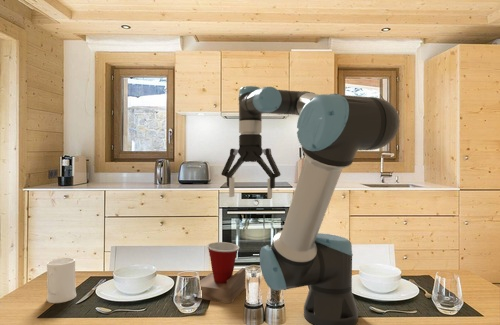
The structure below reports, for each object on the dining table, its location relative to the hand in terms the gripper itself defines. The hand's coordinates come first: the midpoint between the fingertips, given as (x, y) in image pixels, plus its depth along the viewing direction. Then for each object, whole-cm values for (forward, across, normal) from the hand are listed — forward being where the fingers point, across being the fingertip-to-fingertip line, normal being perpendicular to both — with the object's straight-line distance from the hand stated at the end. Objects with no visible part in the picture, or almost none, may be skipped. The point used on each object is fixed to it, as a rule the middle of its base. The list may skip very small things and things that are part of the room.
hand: (250, 197), depth 122 cm
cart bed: (+32, +9, +5) cm, 33 cm away
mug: (+32, +55, +28) cm, 69 cm away
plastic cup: (+28, +8, +4) cm, 29 cm away
